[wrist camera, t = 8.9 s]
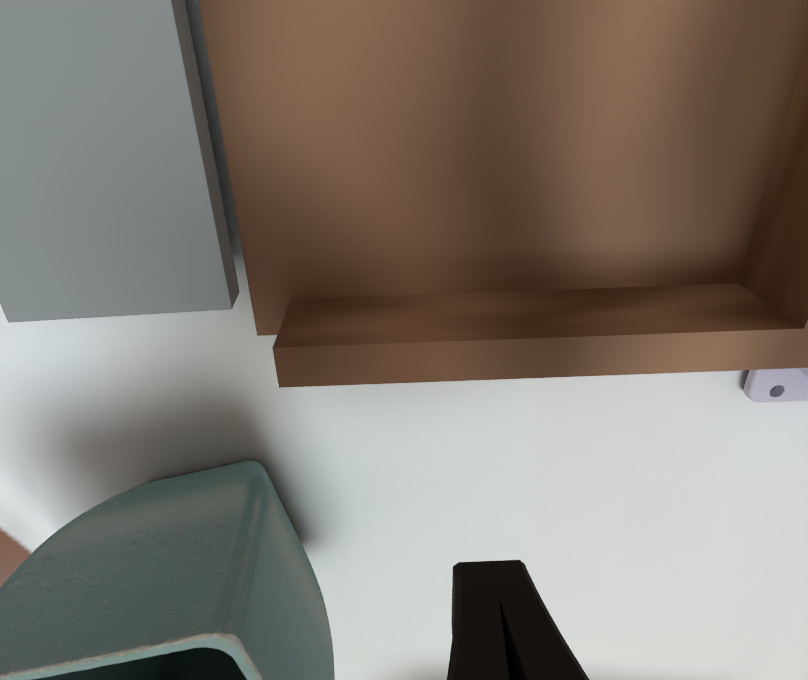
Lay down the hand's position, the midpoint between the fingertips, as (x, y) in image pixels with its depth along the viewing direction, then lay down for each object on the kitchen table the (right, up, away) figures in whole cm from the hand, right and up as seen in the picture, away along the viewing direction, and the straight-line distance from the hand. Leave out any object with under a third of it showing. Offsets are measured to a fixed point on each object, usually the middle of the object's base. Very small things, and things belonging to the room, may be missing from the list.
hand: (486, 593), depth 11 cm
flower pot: (-9, -2, +12) cm, 15 cm away
